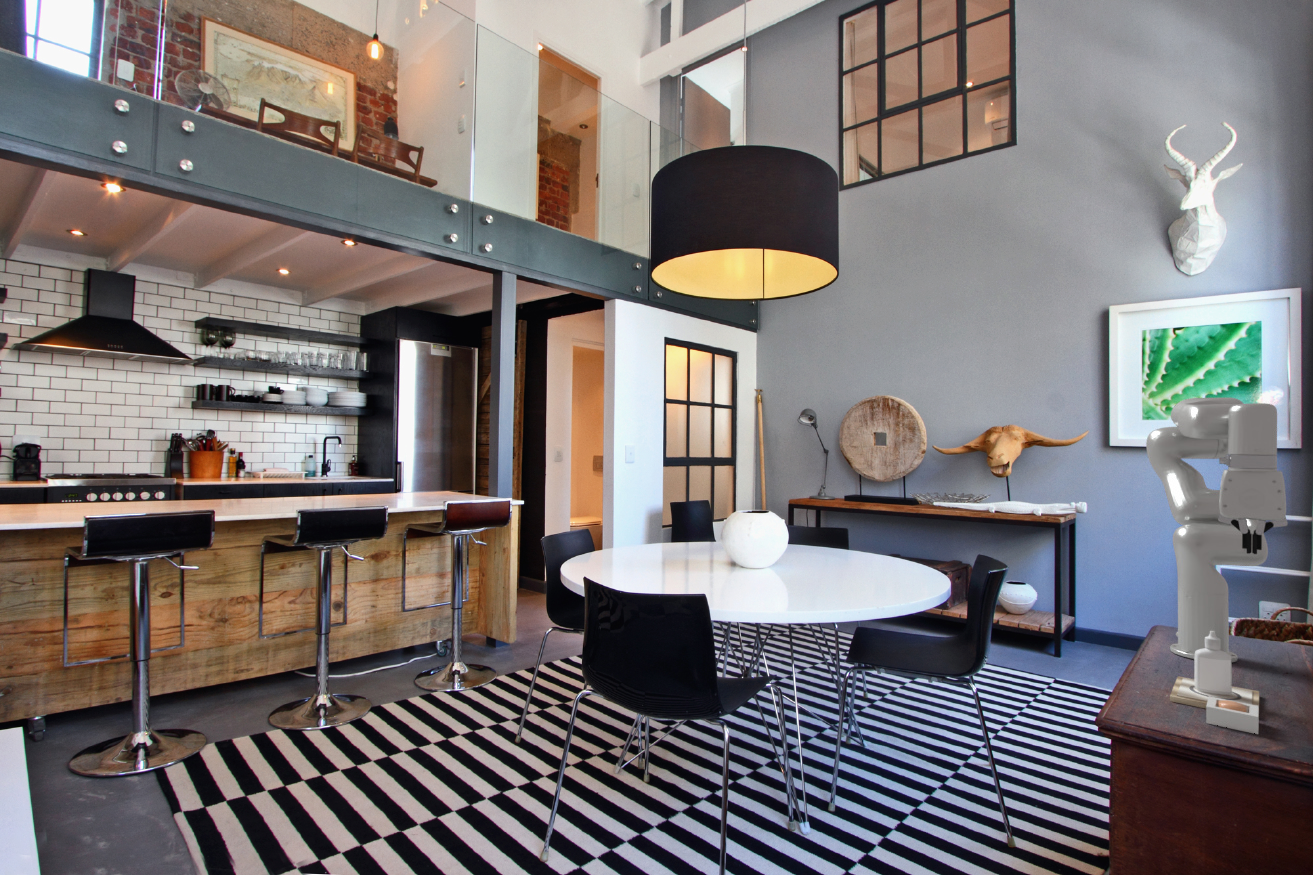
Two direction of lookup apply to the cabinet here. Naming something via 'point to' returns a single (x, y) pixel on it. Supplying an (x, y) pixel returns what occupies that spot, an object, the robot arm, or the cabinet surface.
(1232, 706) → the button
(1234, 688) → the cream flat rectangular panel
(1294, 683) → the cabinet surface
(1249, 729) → the button housing
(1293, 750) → the cabinet surface
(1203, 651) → the eye dropper bottle
